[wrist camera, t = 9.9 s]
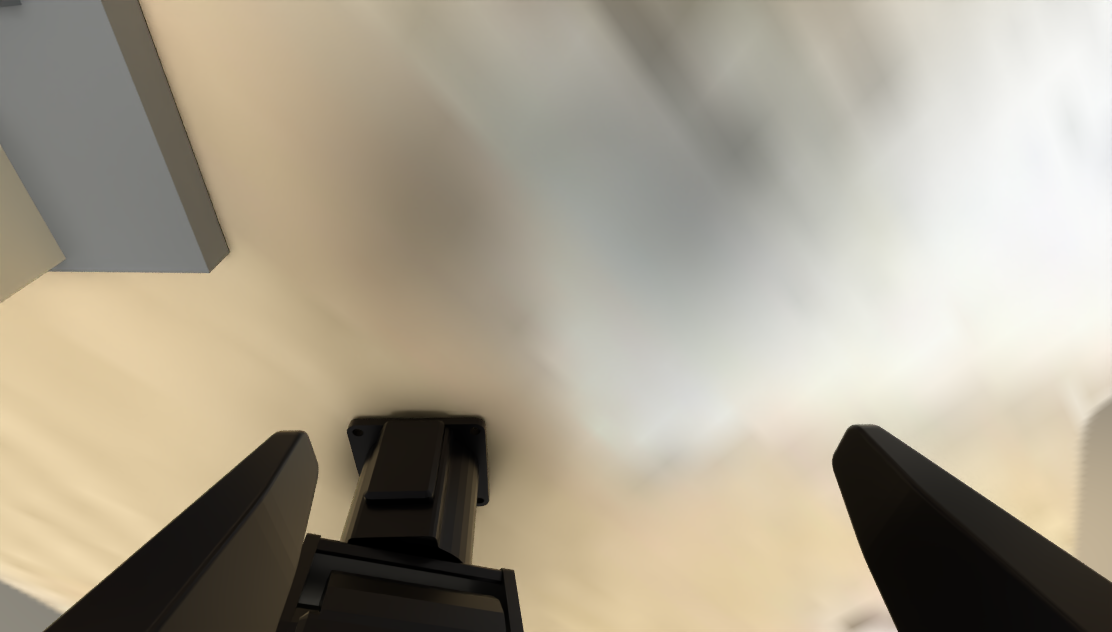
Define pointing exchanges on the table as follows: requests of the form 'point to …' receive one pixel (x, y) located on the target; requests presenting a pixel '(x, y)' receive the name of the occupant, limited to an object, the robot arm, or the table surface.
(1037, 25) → the table surface
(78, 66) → the socket board
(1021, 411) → the table surface
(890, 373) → the table surface
